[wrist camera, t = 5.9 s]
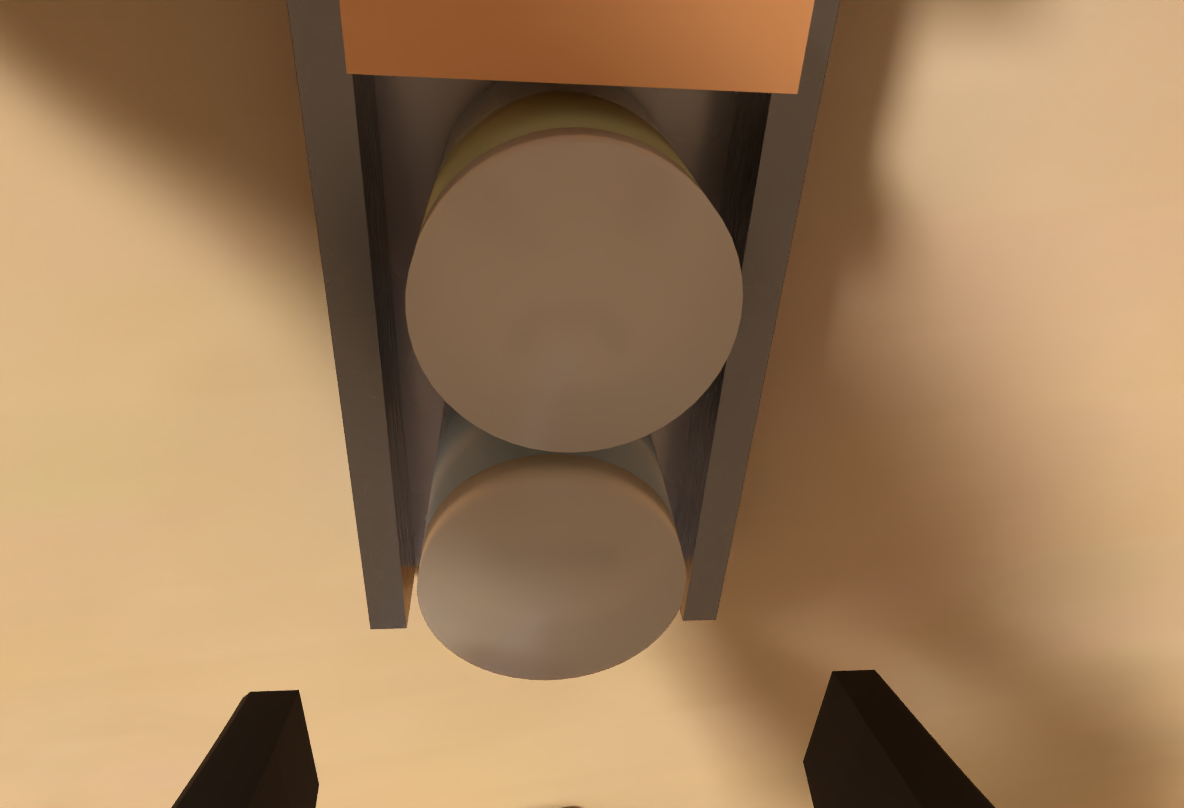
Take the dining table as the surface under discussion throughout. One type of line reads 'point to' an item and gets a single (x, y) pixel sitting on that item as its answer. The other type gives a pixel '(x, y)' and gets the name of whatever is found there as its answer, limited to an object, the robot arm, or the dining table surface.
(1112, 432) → the dining table surface
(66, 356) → the dining table surface
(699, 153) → the lane
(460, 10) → the block
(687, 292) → the jar
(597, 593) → the jar
